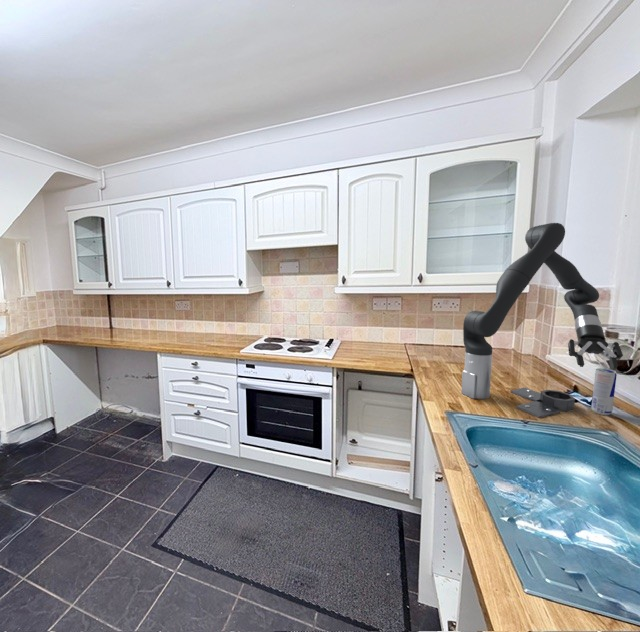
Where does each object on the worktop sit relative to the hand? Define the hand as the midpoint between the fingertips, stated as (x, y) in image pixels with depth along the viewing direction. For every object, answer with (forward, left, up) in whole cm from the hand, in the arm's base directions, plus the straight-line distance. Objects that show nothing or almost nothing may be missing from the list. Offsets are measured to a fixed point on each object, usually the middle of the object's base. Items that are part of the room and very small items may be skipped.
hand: (597, 367), depth 103 cm
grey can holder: (-17, +10, -14) cm, 24 cm away
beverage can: (-4, -5, -14) cm, 16 cm away
